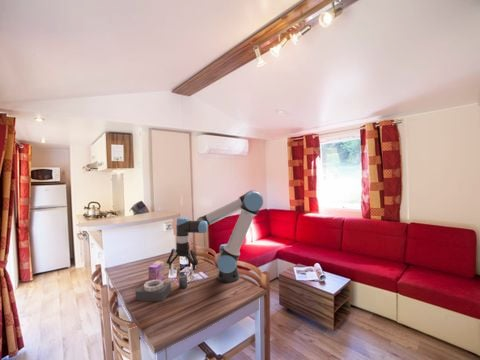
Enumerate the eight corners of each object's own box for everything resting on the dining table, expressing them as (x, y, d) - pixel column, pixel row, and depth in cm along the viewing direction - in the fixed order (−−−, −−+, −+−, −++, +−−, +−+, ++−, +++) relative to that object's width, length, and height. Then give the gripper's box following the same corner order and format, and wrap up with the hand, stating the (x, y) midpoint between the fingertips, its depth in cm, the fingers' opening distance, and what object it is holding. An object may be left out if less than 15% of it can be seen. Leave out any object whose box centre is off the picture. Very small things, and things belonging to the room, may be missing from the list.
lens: (188, 285, 147) (188, 271, 147) (185, 289, 142) (185, 274, 142) (180, 285, 148) (180, 271, 147) (177, 289, 142) (177, 274, 142)
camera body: (171, 290, 140) (170, 279, 140) (162, 301, 128) (162, 288, 128) (146, 289, 142) (146, 278, 142) (135, 300, 130) (135, 287, 130)
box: (156, 285, 148) (155, 267, 148) (148, 284, 149) (148, 266, 149) (164, 278, 158) (164, 261, 158) (157, 277, 159) (156, 260, 159)
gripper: (203, 240, 147) (202, 273, 147) (166, 239, 149) (165, 271, 150) (199, 244, 140) (199, 278, 140) (161, 242, 142) (160, 276, 142)
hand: (182, 274), depth 145 cm, fingers open, 13 cm apart
